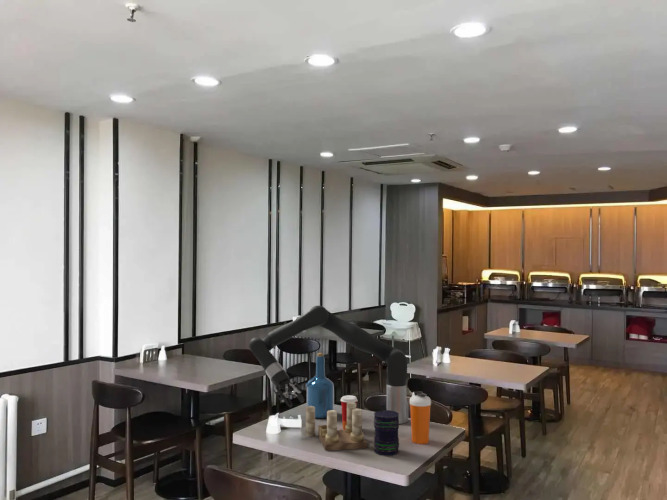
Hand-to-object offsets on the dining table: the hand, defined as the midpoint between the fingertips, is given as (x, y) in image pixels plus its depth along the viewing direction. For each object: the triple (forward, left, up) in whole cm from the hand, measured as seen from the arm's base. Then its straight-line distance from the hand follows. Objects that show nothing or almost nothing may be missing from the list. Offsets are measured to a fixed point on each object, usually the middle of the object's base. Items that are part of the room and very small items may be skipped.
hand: (297, 403), depth 242 cm
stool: (-12, +20, -12) cm, 27 cm away
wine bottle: (-20, -20, -12) cm, 30 cm away
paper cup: (-23, +5, -12) cm, 26 cm away
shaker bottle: (-42, +33, -12) cm, 55 cm away
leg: (-4, +6, -12) cm, 14 cm away
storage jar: (-23, +38, -13) cm, 46 cm away
